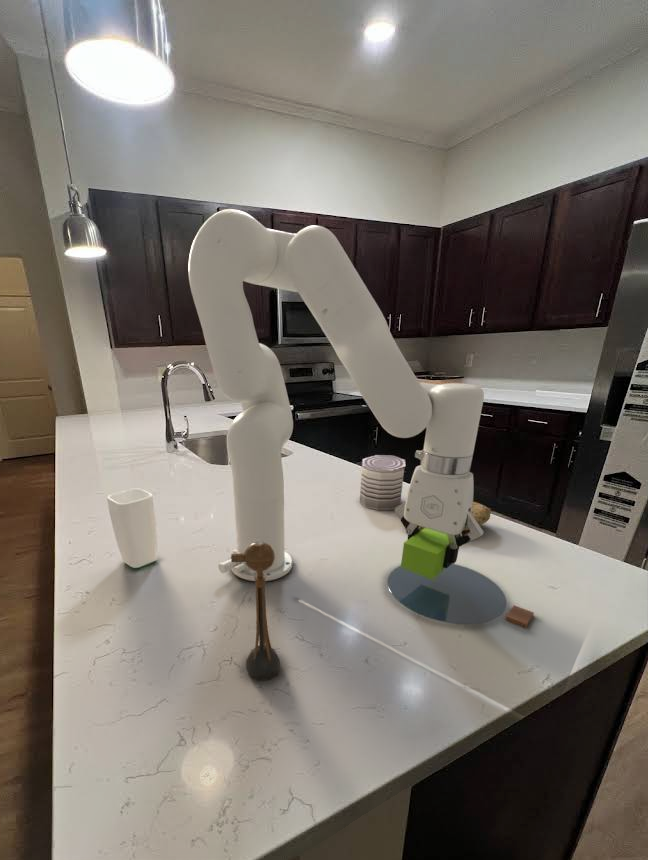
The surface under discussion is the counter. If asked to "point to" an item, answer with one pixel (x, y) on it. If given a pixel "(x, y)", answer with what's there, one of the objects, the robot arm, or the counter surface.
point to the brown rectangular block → (519, 616)
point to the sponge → (476, 514)
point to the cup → (134, 526)
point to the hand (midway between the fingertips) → (430, 557)
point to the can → (382, 482)
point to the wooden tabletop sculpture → (260, 612)
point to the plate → (449, 595)
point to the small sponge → (425, 553)
